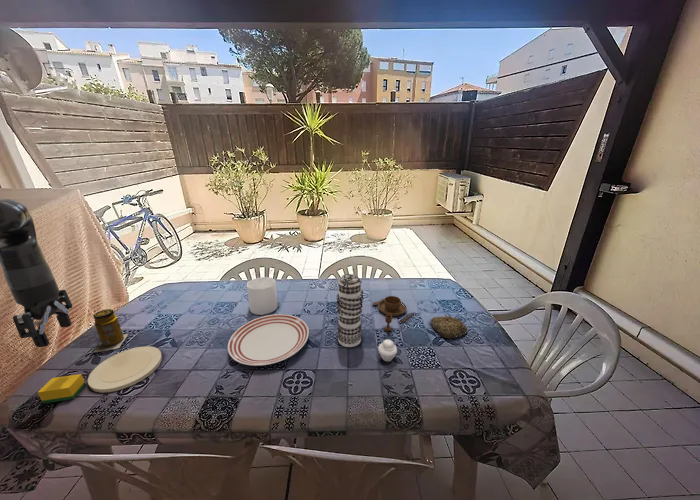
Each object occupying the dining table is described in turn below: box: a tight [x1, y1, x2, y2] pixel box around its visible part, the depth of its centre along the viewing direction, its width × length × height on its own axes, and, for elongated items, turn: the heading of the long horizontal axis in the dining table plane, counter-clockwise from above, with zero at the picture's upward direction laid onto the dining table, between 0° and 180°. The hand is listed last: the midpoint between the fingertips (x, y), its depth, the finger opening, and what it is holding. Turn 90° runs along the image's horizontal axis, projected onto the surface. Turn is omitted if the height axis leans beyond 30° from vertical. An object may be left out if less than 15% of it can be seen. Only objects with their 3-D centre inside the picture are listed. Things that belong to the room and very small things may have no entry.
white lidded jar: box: [377, 338, 398, 362], centre depth 88 cm, size 6×6×7 cm
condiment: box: [92, 308, 129, 353], centre depth 94 cm, size 7×8×12 cm
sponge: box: [37, 373, 87, 405], centre depth 75 cm, size 7×5×4 cm
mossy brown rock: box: [430, 315, 468, 339], centre depth 104 cm, size 13×12×5 cm
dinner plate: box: [227, 313, 310, 367], centre depth 96 cm, size 27×27×3 cm
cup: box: [246, 276, 279, 316], centre depth 116 cm, size 12×12×12 cm
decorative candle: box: [336, 273, 364, 348], centre depth 94 cm, size 9×9×25 cm
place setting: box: [372, 295, 414, 333], centre depth 113 cm, size 18×20×6 cm
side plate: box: [87, 345, 163, 394], centre depth 84 cm, size 18×18×1 cm
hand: (55, 335), depth 73 cm, fingers open, 8 cm apart
